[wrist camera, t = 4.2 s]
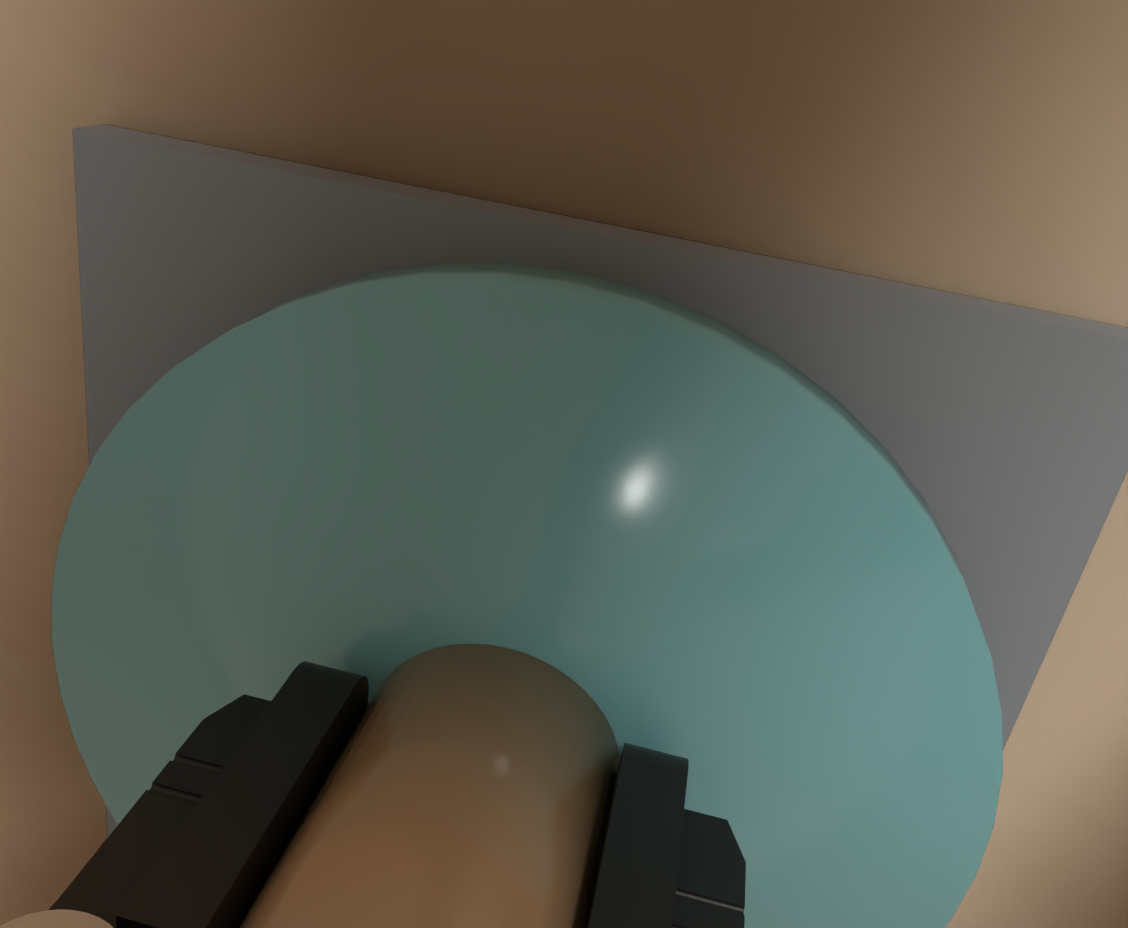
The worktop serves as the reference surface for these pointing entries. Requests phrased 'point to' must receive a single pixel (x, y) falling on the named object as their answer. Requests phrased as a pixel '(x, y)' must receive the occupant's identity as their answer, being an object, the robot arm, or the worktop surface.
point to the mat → (668, 269)
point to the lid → (535, 603)
